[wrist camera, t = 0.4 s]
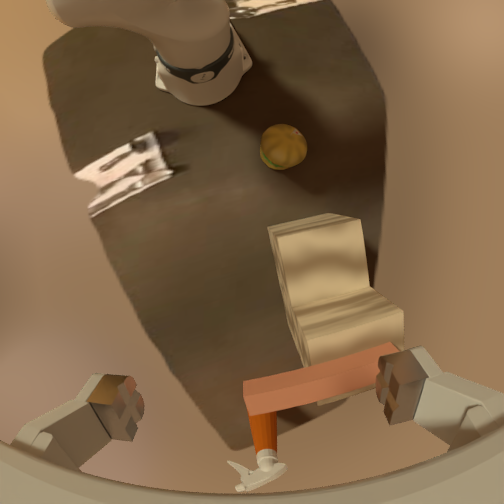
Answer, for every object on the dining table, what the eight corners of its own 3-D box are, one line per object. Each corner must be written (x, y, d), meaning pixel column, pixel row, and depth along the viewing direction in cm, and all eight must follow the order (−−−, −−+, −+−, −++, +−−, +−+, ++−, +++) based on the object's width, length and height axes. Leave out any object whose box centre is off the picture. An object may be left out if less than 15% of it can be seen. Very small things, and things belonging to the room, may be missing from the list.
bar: (243, 381, 32) (243, 396, 29) (390, 341, 32) (401, 352, 29) (249, 400, 33) (249, 416, 30) (390, 361, 33) (400, 373, 30)
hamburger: (250, 157, 53) (252, 147, 41) (269, 125, 52) (277, 107, 40) (286, 179, 54) (298, 174, 42) (305, 147, 53) (322, 134, 41)
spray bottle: (224, 390, 61) (218, 482, 36) (271, 378, 61) (286, 469, 35) (235, 412, 63) (234, 502, 37) (279, 401, 63) (296, 490, 37)
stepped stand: (267, 226, 55) (290, 252, 30) (329, 212, 55) (395, 227, 30) (288, 324, 59) (317, 405, 33) (344, 309, 59) (403, 377, 33)
